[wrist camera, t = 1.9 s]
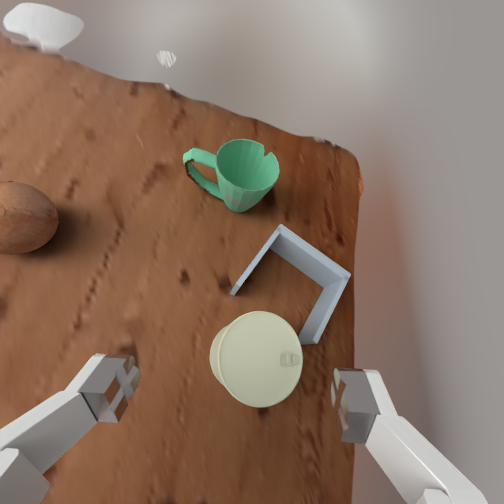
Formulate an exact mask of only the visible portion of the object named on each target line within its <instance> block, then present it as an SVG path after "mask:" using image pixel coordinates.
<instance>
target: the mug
mask: <svg viewBox="0 0 504 504" xmlns="http://www.w3.org/2000/svg"><path fill="white" fill-rule="evenodd" d="M183 161H184V165H185V169H186V173H187V176H188V177H189V178H191V179H192V180H193V181H194V182H195V183H196V184H197V185H198V186H199V187H200V188H202V189H203V190H204V191H206V192H208V193H210V194H212V195H214V196H216V197H218V198H220V199H222V200H224V202H225V204H226V206H227V207H228V208H229V209H230V210H231V211H234V212H239V213H240V212H244V211H246V210H248V209H249V208H251V207H253V206H254V205H255V204H257V203H258V202H259V201H260V200H261V199H262V198H263V196H264V195H265V194H266V193H267V192H268V191H269V190H270V189H271V188H272V187H273V186H274V184H275V183H276V181H277V179H278V176H279V173H280V170H279V163H278V161H277V159H276V157H275V156H274V155H273V153H272V152H270V153H268V155H267V156H265V146H263V145H262V144H260V143H257V142H255V141H253V140H246V139H237V140H232V141H229V142H227V143H225V144H224V145H223V146H222V147H221V148H219V151H218V153H217V155H214V154H212V153H209V152H207V151H204V150H201V149H197V148H192V149H191V150H189V151H188V152H186V153H185V154H184V155H183ZM192 162H197V163H201V164H204V165H206V166H208V167H211V168H213V169H216V173H217V178H218V185H217V184H215V183H213V182H211V181H209V180H207V179H206V178H205V177H204V176H203V175H202V174H201V173H200V172H199V171H198V170H197V169H196V168H195V167H194V165H193V164H192Z"/></svg>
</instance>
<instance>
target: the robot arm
mask: <svg viewBox="0 0 504 504" xmlns="http://www.w3.org/2000/svg"><path fill="white" fill-rule="evenodd" d="M135 362H136V361H135V359H134V357H133V356H124V355H111V354H98V353H96V354H95V355H93V356H92V357H91V358H90V359H89V361H88V362H87V363H86V364H85V366H84V367H83V368H82V369H81V371H80V372H79V373H78V374H77V376H76V377H75V378H74V379H73V380H72V382H71V383H70V384H69V385H68V387H67V388H66V389H65V390H64V391H60V392H58V393H57V394H55V395H53V396H52V397H50V398H49V399H47V400H46V401H44V402H42V403H41V404H39V405H38V406H36V407H35V408H33V409H32V410H30V411H28V412H27V413H25V414H24V415H22V416H21V417H19V418H18V419H16V420H14V421H13V422H11V423H10V424H8V425H7V426H5V427H4V428H2V429H0V504H40V503H41V501H42V500H43V498H44V497H45V495H46V493H47V492H48V490H49V488H50V483H49V482H48V481H47V480H46V479H45V478H44V477H43V475H42V474H43V473H44V472H45V471H46V470H47V469H48V468H49V467H50V466H52V465H53V464H54V463H55V462H56V461H57V460H58V459H59V458H60V457H61V456H62V455H63V454H65V453H66V452H67V451H68V450H69V449H70V448H71V447H72V446H73V445H74V444H75V443H76V442H77V441H79V440H80V439H81V438H82V437H83V436H84V435H85V434H86V433H87V432H88V431H89V430H90V429H91V428H93V427H94V426H95V425H96V424H97V422H114V423H119V421H120V419H121V417H122V415H123V413H124V412H125V410H126V408H127V406H128V400H127V399H128V398H129V397H130V396H132V395H133V394H134V393H135V391H136V389H137V387H138V383H139V379H140V373H139V370H138V368H136V367H135V366H134V364H135ZM334 378H335V380H333V381H332V385H331V397H332V403H333V408H334V409H335V411H336V412H337V413H338V415H337V419H336V423H337V427H338V432H339V436H340V441H342V442H350V443H359V444H366V445H365V446H366V447H367V449H368V450H369V452H370V453H371V454H372V456H373V457H374V458H375V460H376V461H377V463H378V464H379V465H380V466H381V468H382V470H383V471H384V472H385V474H386V475H387V476H388V478H389V479H390V481H391V482H392V483H393V485H394V486H395V488H396V489H397V490H398V492H399V493H400V494H401V496H402V497H403V499H404V500H405V501H406V503H407V504H488V503H487V501H486V499H485V497H484V496H483V494H482V493H481V491H479V490H478V489H477V488H476V487H475V486H474V485H473V484H472V483H471V482H470V481H469V480H468V479H467V478H466V477H465V476H464V475H463V474H462V473H461V472H460V471H459V470H458V469H456V468H455V466H453V464H451V463H450V462H449V461H448V460H447V459H446V458H445V457H444V456H443V455H442V454H441V453H440V452H439V451H438V450H437V449H436V448H435V447H434V446H433V445H432V444H431V443H430V442H429V441H428V440H427V439H426V438H424V437H423V436H422V435H421V434H420V433H419V432H418V431H417V430H416V429H415V428H414V427H413V426H412V425H411V424H410V423H409V422H408V421H407V420H406V419H405V418H403V417H402V416H398V414H397V412H396V410H395V407H394V405H393V403H392V401H391V398H390V396H389V394H388V391H387V389H386V387H385V385H384V382H383V380H382V378H381V375H380V373H379V372H378V371H377V370H364V369H352V368H335V370H334Z"/></svg>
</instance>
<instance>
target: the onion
mask: <svg viewBox="0 0 504 504" xmlns="http://www.w3.org/2000/svg"><path fill="white" fill-rule="evenodd" d="M58 224H59V221H58V213H57V210H56V208H55V205H54V204H53V203H52V201H51V200H50V199H49V198H48V197H47V196H46V195H45V194H44V193H42V192H41V191H39V190H38V189H36V188H34V187H32V186H29V185H26V184H22V183H17V182H13V181H9V182H0V254H21V253H26V252H30V251H33V250H36V249H38V248H40V247H41V246H43V245H44V244H46V243H47V242H48V241H49V240H50V239H51V238H52V237H53V235H54V234H55V232H56V230H58V229H57V228H58V227H57V226H59V225H58Z"/></svg>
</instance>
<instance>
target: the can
mask: <svg viewBox="0 0 504 504" xmlns="http://www.w3.org/2000/svg"><path fill="white" fill-rule="evenodd" d="M210 364H211V368H212V371H213V373H214V375H215V377H216V378H217V379H218V381H219V382H220V383H221V384H223V385H224V386H225V387H226V389H227V390H228V391H229V393H230V394H231V395H232V396H233V397H234V398H236V399H237V400H238V401H240V402H242V403H244V404H246V405H249V406H252V407H268V406H272V405H275V404H277V403H279V402H281V401H282V400H284V399H285V398H286V397H287V396H288V395H289V394H290V393H291V392H292V391H293V390H294V388H295V386H296V385H297V383H298V381H299V378H300V375H301V372H302V365H303V354H302V348H301V344H300V341H299V339H298V336H297V335H296V333H295V331H294V330H293V328H292V327H291V326H290V325H289V324H288V323H287V322H286V321H285V320H284V319H282V318H281V317H279V316H278V315H275V314H273V313H270V312H265V311H254V312H249V313H246V314H244V315H242V316H240V317H238V318H237V319H236V320H234V321H233V322H232V323H231V324H229V325H227V326H226V327H224V328H223V329H222V330H221V331H220V332H219V333H218V334H217V336H216V337H215V339H214V341H213V343H212V346H211V350H210Z"/></svg>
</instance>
